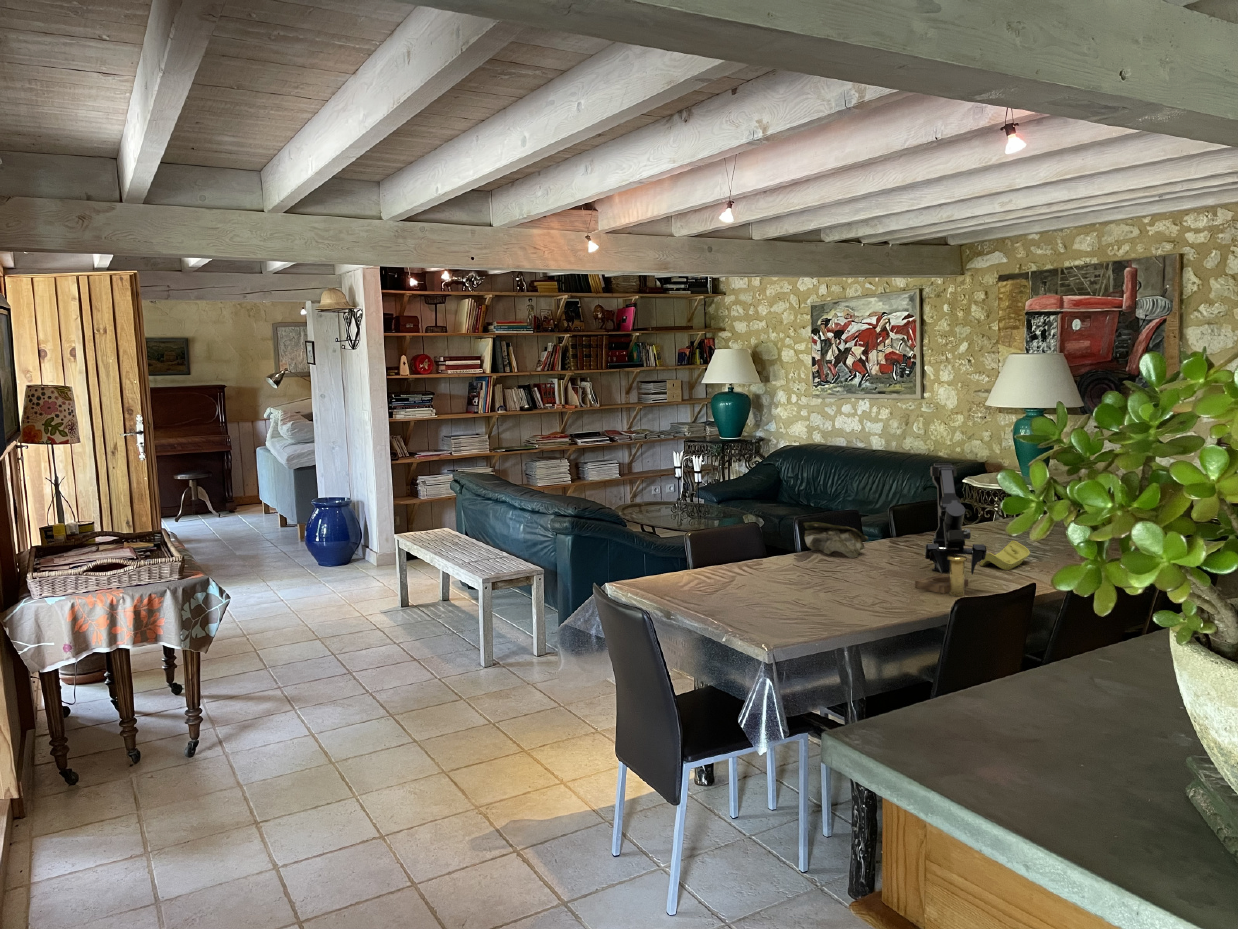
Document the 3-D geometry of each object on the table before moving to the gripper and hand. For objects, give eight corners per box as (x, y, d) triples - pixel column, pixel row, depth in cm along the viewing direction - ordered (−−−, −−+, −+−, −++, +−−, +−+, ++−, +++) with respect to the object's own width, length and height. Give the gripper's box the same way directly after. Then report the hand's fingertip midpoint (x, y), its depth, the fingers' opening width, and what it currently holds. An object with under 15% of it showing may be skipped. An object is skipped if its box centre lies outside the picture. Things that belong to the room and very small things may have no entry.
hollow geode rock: (804, 560, 372) (786, 538, 364) (817, 535, 377) (800, 513, 370) (861, 568, 350) (844, 544, 343) (874, 542, 355) (857, 518, 348)
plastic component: (1009, 565, 321) (985, 550, 327) (1001, 581, 324) (977, 566, 330) (1034, 552, 334) (1010, 537, 340) (1026, 568, 337) (1002, 553, 343)
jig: (915, 587, 303) (915, 580, 302) (939, 580, 311) (939, 574, 311) (943, 593, 294) (943, 586, 294) (968, 586, 302) (968, 579, 302)
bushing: (943, 594, 293) (944, 557, 292) (954, 591, 296) (954, 554, 295) (959, 597, 288) (960, 559, 287) (970, 594, 292) (970, 557, 290)
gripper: (925, 519, 296) (928, 559, 287) (985, 520, 292) (991, 560, 282) (923, 538, 305) (926, 577, 295) (981, 539, 300) (986, 579, 291)
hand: (957, 573), depth 291 cm, fingers open, 9 cm apart
